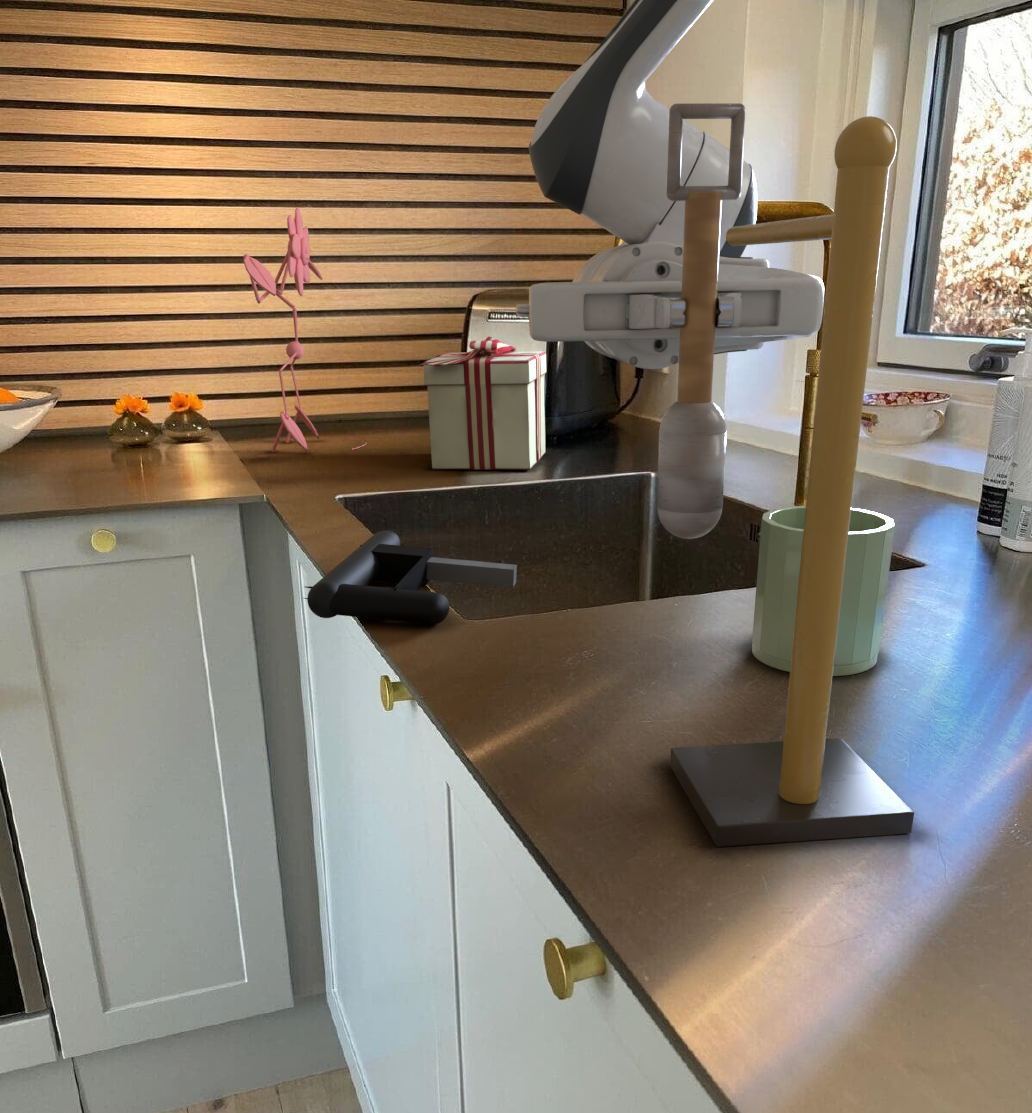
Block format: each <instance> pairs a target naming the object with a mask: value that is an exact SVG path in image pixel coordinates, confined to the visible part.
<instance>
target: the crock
mask: <svg viewBox="0 0 1032 1113" xmlns="http://www.w3.org/2000/svg"><path fill="white" fill-rule="evenodd" d="M805 510H806V505H793V506H785V507H779V508H774V509H771V510H768V511H766V512H763V513H762V517H761V523H760V535H759V550H758V561H757V573H756V585H755V586H756V587H755V596H754V599H755V600H754V611H753V621H752V636H751V653H752V655H753V657H754V658H755V659H757V661H759V662H760V663H762V664H764V665H766V666H769V667H771V668H774V669H777V670H780V671H784V672H788V673H790V668H791V657H792V647H793V636H794V626H795V615H796V605H797V594H798V583H799V573H800V562H801V552H802V541H803V531H804V520H805ZM895 528H896V525H895V521H894V519H893V518H892V517H889V516H887V515H884V514H882V513H878V512H875V511H871V510H867V509H861V508H855V507H854V508H853V507H851V515H850V524H849V533H848V542H847V551H846V560H845V569H844V578H843V587H842V596H841V605H840V614H839V623H838V632H837V641H836V650H835V659H834V668H833V677H842V676H850V675H857V674H860V673H863V672H865V671H866V672H867V671H869V670H870V669H872V668H874V666H875V665H876V664H877V662H878V655H879V652H880V647H881V646H880V645H881V638H882V631H883V623H884V615H885V608H886V607H885V606H886V599H887V592H888V591H887V590H888V583H889V576H890V569H891V568H890V567H891V561H892V560H891V559H892V553H893V545H894V537H895Z"/></svg>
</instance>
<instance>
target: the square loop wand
mask: <svg viewBox="0 0 1032 1113" xmlns="http://www.w3.org/2000/svg"><path fill="white" fill-rule="evenodd" d="M669 109H670V110H669V137H668V167H667V197H668V199H669V200H671V201H685V219H684V244H683V269H682V295H681V298H685V301H686V310H685V311H684V313H683V314H684V316H685V325H684V327H683V328H680V345H679V363H678V371H677V373H678V374H677V399H676V400H677V401H675V402H674V403H673V404H671V405H670V406H669V407H668V408H667V409H666V411H665V412H664V414H663V416H662V418H661V421H660V424H659V430H658V457H657V460H658V461H657V485H656V486H657V487H656V488H657V489H656V490H657V491H656V514H657V517H658V520H659V522H660V524H661V525H662V527H663V528H664V529H665V530H666V531H667V532H668V533H669V534H671V535H672V536H674V537H677V538H679V539H684V540H695V539H698V538H702V537H703V536H705V535H707V534H709V533H710V532H712V531H713V529H714V528H715V527H716V526H717V524H718V523H719V521H720V519H721V516H722V513H723V506H724V491H725V490H724V488H725V474H726V473H725V470H726V456H727V440H728V438H727V437H728V427H727V420H726V417H725V415H724V413H723V410H721V408H720V407H719V406H718V405H717V404H716V403H715V402H714V401H712V396H713V382H714V381H713V380H714V361H715V360H714V359H715V354H714V342H715V322H716V303H717V283H718V264H719V244H720V225H721V205H722V200H736V199H738V198H739V197H740V194H741V180H742V163H743V160H744V145H745V144H744V142H745V126H746V107H745V105H744V104H743V103H739V102H738V103H736V102H735V103H731V102H730V103H719V102H718V103H717V102H715V103H711V102H710V103H708V102H707V103H700V102H699V103H698V102H697V103H673V104H672V105H671V106H670V107H669ZM683 119H684V120H731V121H730V136H729V137H730V138H729V139H730V140H729V150H730V154H729V173H728V186H680V179H681V152H682V125H683Z"/></svg>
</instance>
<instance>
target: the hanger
mask: <svg viewBox="0 0 1032 1113" xmlns="http://www.w3.org/2000/svg"><path fill="white" fill-rule="evenodd" d="M897 144H898V143H897V136H896V133H895V131H894V129H893V128H892V126H891V124H889V123H888V122H887V121H886V120H884V119H883V118H880V117H878V116H872V115H871V116H869V115H867V116H863V117H859V118H856V119H855V120H853V121H851V122H850V123H849V124H847V125H846V126H845V128H844V129H843V130H842V131H841V133H840V134H839V136H838V137H837V140H836V142H835V146H834V151H833V154H834V156H833V158H834V162H835V167H836V169H837V174H836V185H835V193H834V204H833V214H825V215H817V216H816V215H815V216H807V217H799V218H791V219H784V220H777V221H776V220H775V221H768V222H761V223H755V224H751V225H743V226H735V227H731V228H730V229H729V230H728V231H727V233H726V241H727V243H728V244H729V245H731V246H741V245H747V246H755V245H766V244H769V245H770V244H783V243H796V242H809V241H811V242H813V241H825V240H826V241H827V240H830V246H829V258H828V268H827V269H828V270H827V280H826V289H825V298H824V309H823V319H822V331H821V332H822V333H821V342H820V351H819V363H818V375H817V383H816V384H817V385H816V394H815V406H814V415H813V425H812V426H813V427H812V437H811V448H810V458H809V468H808V478H807V480H808V481H807V490H806V500H805V506H806V510H805V520H804V531H803V541H802V552H801V562H800V573H799V583H798V594H797V605H796V615H795V626H794V636H793V647H792V657H791V668H790V672H789V678H788V680H789V681H788V689H787V701H786V711H785V721H784V722H785V723H784V731H783V732H784V733H783V740H780V741H766V742H765V741H764V742H750V743H749V742H747V743H731V744H729V743H728V744H715V745H712V744H711V745H698V746H697V745H695V746H683V747H682V746H681V747H679V746H678V747H671V748H670V758H669V760H670V761H669V767H670V769H671V770H672V772H673V774H674V776H675V777H676V780H677V781H678V783H679V784H680V786H681V788H682V789H683V791H684V793H685V794H686V796H687V798H688V800H689V802H690V804H691V805H692V807H693V809H694V810H695V812H696V814H697V815H698V817H699V819H700V821H701V822H702V824H703V826H704V827H705V829H706V831H707V833H708V834H709V836H710V838H711V839H712V841H713V843H714V844H715V847H716V848H722V847H735V846H748V845H763V844H765V845H766V844H777V843H778V844H779V843H791V842H802V841H803V842H804V841H806V842H807V841H819V840H821V841H822V840H833V839H834V840H835V839H847V838H848V839H849V838H862V837H864V838H865V837H875V836H876V837H877V836H891V835H904V834H911V833H912V831H913V823H914V817H915V811H914V810H912V809H911V808H910V806H908V805H907V803H905V801H904V800H903V799H902V798H901V797H900V796H899V795H898V794H897V793H896V792H895V791H894V790H893V789H892V788H891V787H890V786H889V785H888V784H887V783H886V782H885V781H884V780H883V779H882V777H880V776H879V775H878V774H877V773H876V772H875V771H874V770H873V769H872V768H871V767H870V766H869V765H868V764H867V763H866V761H865V760H863V759H862V757H860V756H859V755H858V753H857V752H855V751H854V749H853V748H851V747H850V745H849V744H848V743H847V742H846V741H844V739H843V738H842V737H832V738H831V737H830V738H827V730H828V721H829V712H830V705H831V704H830V702H831V696H832V695H831V693H832V685H833V678H834V676H833V668H834V659H835V650H836V641H837V632H838V623H839V614H840V605H841V596H842V587H843V578H844V569H845V560H846V551H847V542H848V533H849V524H850V515H851V508H852V507H853V506H852V505H853V497H854V489H855V488H854V487H855V478H856V468H857V460H858V451H859V443H860V432H861V425H862V416H863V407H864V399H865V389H866V379H867V373H868V372H867V371H868V361H869V354H870V353H869V352H870V344H871V336H872V335H871V334H872V327H873V326H872V324H873V317H874V310H875V309H874V307H875V299H876V291H877V290H876V289H877V280H878V274H879V272H878V271H879V263H880V254H881V246H882V237H883V226H884V218H885V211H886V210H885V208H886V202H887V200H886V199H887V193H888V192H887V190H888V182H889V174H890V168H891V165H892V164H893V162H894V160H895V158H896V153H897V150H898V148H897V147H898V146H897Z"/></svg>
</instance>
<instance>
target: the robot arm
mask: <svg viewBox="0 0 1032 1113" xmlns="http://www.w3.org/2000/svg"><path fill="white" fill-rule="evenodd" d="M714 1H715V0H633V2H632V4H631V5H630V6H629V7H628V9H627V10H626V11H625V13H624V14H623V15H622V16H621V17H620V19H619V20H618V22H617V23H616V24H615V25H614V27H613V28H612V29H611V30H610V31H609V32H608V34H607V35H606V36H605V37H604V39H603V40H602V41H601V43H599V45H598V46H597V47H596V48H595V49H594V51H593V52H592V53H591V54H590V55H589V57H588V58H587V59H586V60H584V62H583V64H582V65H581V66H580V67H579V68H577V69H576V70H575V71H574V72H573V73H572V74H571V75H570V76H569V77H567V79H566V80H564V81H563V83H561V85H559V87H557V89H556V90H555V91H554V93H553V94H552V95H551V96H550V98H549V99H548V101H547V102H546V103H545V105H544V107H543V109H542V110H541V112H540V114H539V116H538V118H537V120H536V123H535V126H534V128H533V131H532V136H531V140H530V142H529V144H528V152H529V159H530V162H531V166H532V167H531V168H532V170H533V173H534V176H535V179H536V182H537V184H538V186H539V188H540V191H541V193H542V195H543V197H544V198H546V199H548V200H550V201H552V202H553V203H556V204H557V205H559V206H562V207H563V208H565V209H567V210H569V211H571V212H573V213H574V214H577V215H579V216H581V215H582V216H584V217H586V218H587V219H589V220H591V222H593V223H595V224H597V225H598V226H599V227H601V228H603V229H604V230H606V231H607V232H609V233H610V234H612V235H614V237H616V238H618V239H620V240H622V241H623V242H622V243H620V244H619V245H617V246H614V247H610V248H607V249H604V250H602V251H600V252H598V253H596V254H595V255H593V256H592V257H590V258H589V259H588V260H587V261H585V262H584V263H583V264H582V265H581V266H580V268H579V269H578V270H577V272H576V274H575V276H574V277H573V279H572V281H559V282H557V281H556V282H555V281H554V282H540V283H534V284H532V285H530V286H529V288H528V303H517V304H516V308H515V309H514V311H515V313H516V316H517V317H519V318H528V325H529V326H528V327H529V328H528V330H529V336H530V338H531V339H532V340H533V341H537V342H546V343H551V342H552V343H555V342H556V343H557V342H584V343H585V344H586V345H587V346H588V347H589V348H591V349H593V351H595V352H597V353H598V354H601V355H603V356H605V357H607V358H611V359H613V360H616V361H618V362H621V363H624V364H627V365H628V366H632V367H634V368H638V369H644V370H660V369H665V368H668V367H672V366H674V365H676V364H679V345H680V328H683V327H684V325H685V316H684V314H683V313H684V311H685V310H686V301H685V298H681V295H682V269H683V244H684V219H685V201H671V200H669V199H668V197H667V167H668V137H669V110H670V108H668V107H667V106H665V104H663V103H662V102H660V101H658V100H657V99H655V98H654V97H653V96H652V95H651V94H650V92H648V90H647V89H646V82H647V80H648V79H649V78H650V76H651V75H652V74H653V73H654V72H655V71H656V70H657V68H658V67H659V66H660V64H662V62H663V61H664V60H665V59H666V57H667V56H668V55H669V54H670V53H671V51H673V49H674V48H675V47H676V45H677V44H678V43H679V42H680V41H681V39H682V38H684V36H685V35H686V34H687V33H688V31H689V30H690V29H691V28H692V27H693V25H694V24H695V23H696V22H697V20H699V18H700V17H701V16H702V15H703V13H704V12H705V11H706V10H707V9H708V8H709V6H710V5H711V4H712V3H713V2H714ZM729 154H730V148H728V147H727V146H725V145H724V144H722V142H720V141H718V140H717V139H715V138H714V137H712V136H711V135H710V134H708V133H707V132H706V131H702V130H700V129H699V128H698V127H696V126H694V125H693V124H691V123H690V122H689V121H687V119H683V125H682V152H681V179H680V186H728V173H729ZM757 216H758V189H757V181H756V176H755V173H754V169H753V167H752V165H751V163H748V162H747V161H745V160H744V159H743V163H742V180H741V194H740V197H739V198H738V199H736V200H722V205H721V225H720V244H719V264H718V283H717V303H716V322H715V342H714V355H720V354H726V353H727V354H728V353H736V352H747V351H748V350H749V351H750V350H759V349H761V348H762V347H764V343H767V342H768V343H769V342H777V341H786V340H793V339H794V340H795V339H802V338H808V337H812V336H815V335H817V333H818V332H819V330H820V329H821V326H822V322H823V316H824V305H825V285H824V282H823V280H822V279H821V278H820V277H819V276H817V275H816V276H815V275H813V274H808V273H804V272H798V271H794V270H789V269H783V268H777V267H770V262H769V260H768V259H766V258H753V256H742V255H743V254H744V251H745V250H746V248H747V246H748V245H741V246H731V245H729V244H728V243H727V241H726V233H727V231H728V230H729V229H730V228H731V227H735V226H743V225H751V224H757V223H756V222H757Z"/></svg>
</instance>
